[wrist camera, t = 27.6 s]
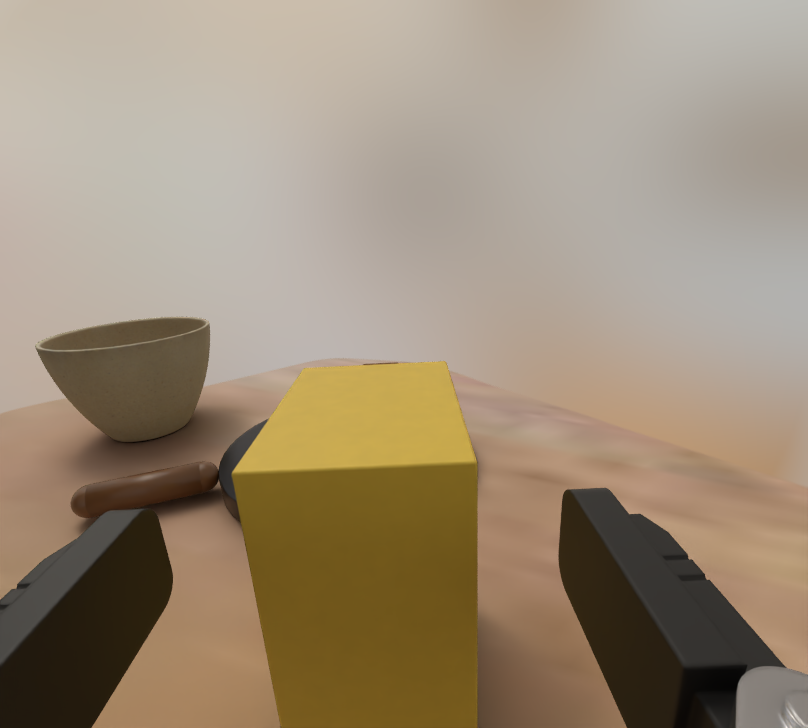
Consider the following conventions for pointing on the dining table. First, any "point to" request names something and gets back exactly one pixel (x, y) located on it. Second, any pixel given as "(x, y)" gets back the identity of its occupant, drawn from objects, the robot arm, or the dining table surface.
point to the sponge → (366, 548)
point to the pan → (166, 483)
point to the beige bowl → (132, 373)
